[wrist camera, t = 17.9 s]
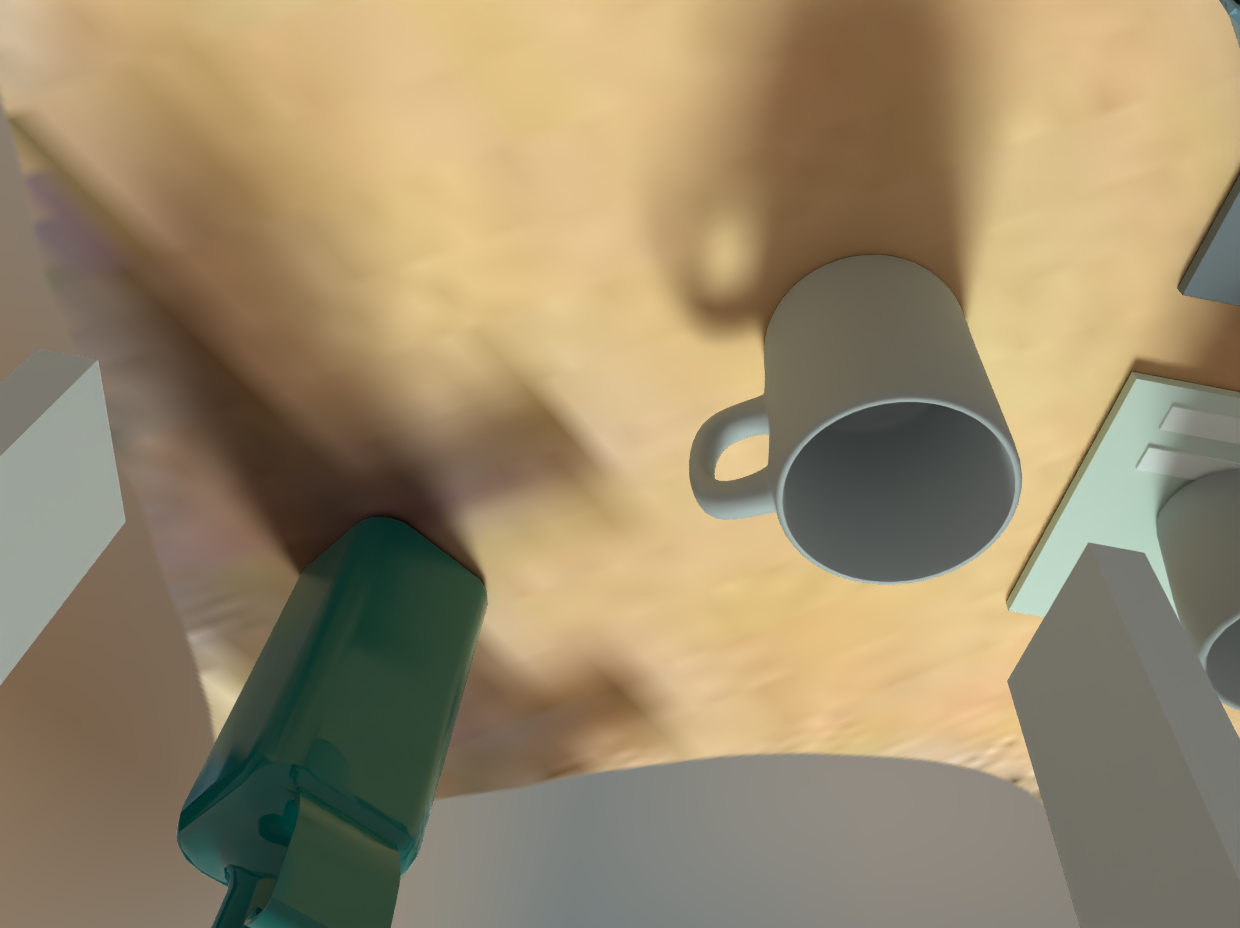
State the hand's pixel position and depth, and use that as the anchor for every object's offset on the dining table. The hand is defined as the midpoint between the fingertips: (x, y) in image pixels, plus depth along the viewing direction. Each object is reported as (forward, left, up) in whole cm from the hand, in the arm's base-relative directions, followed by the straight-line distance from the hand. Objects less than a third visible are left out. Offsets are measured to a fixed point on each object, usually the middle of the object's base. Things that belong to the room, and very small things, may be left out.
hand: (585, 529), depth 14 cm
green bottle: (+30, -9, -29) cm, 43 cm away
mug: (+12, +9, -29) cm, 33 cm away
